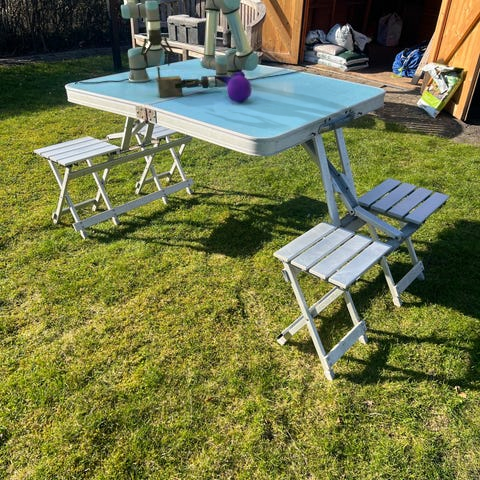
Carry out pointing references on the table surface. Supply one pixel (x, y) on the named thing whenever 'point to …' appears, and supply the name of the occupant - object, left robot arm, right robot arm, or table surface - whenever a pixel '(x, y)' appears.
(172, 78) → the lid
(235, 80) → the toy
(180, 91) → the chest
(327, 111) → the table surface
